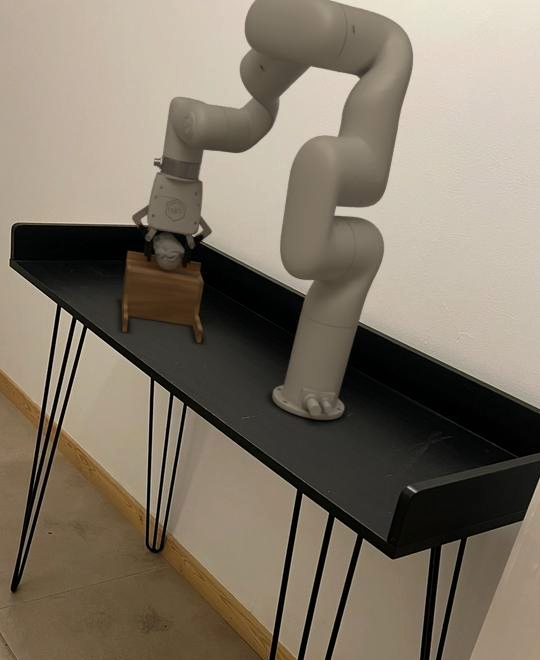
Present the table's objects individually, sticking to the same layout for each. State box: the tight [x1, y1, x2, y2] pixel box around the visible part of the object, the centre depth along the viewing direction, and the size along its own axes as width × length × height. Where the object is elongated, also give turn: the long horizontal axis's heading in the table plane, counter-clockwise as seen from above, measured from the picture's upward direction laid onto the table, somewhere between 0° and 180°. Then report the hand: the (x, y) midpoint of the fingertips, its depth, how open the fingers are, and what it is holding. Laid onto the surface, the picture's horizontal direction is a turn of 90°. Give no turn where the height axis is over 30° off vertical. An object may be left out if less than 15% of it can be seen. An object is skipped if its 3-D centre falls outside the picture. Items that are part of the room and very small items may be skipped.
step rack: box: [120, 250, 205, 344], centre depth 168 cm, size 20×15×10 cm
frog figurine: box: [153, 231, 185, 270], centre depth 168 cm, size 6×7×7 cm
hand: (166, 262), depth 169 cm, fingers closed on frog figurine, 6 cm apart
